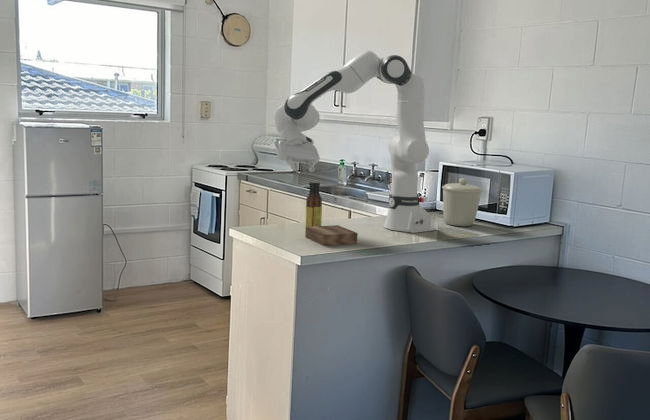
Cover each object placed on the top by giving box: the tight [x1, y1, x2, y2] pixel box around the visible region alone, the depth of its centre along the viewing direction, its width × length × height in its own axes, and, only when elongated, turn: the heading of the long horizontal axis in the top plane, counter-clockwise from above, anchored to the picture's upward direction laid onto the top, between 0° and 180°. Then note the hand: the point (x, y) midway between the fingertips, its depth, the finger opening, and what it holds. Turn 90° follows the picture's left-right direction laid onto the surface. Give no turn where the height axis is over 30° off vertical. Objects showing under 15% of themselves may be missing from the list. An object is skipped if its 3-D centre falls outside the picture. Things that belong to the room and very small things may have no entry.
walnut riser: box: [304, 224, 359, 247], centre depth 238 cm, size 14×14×4 cm
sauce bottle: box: [304, 181, 323, 230], centre depth 248 cm, size 6×6×20 cm
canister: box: [441, 177, 484, 227], centre depth 287 cm, size 18×18×21 cm
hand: (303, 170), depth 253 cm, fingers open, 8 cm apart
